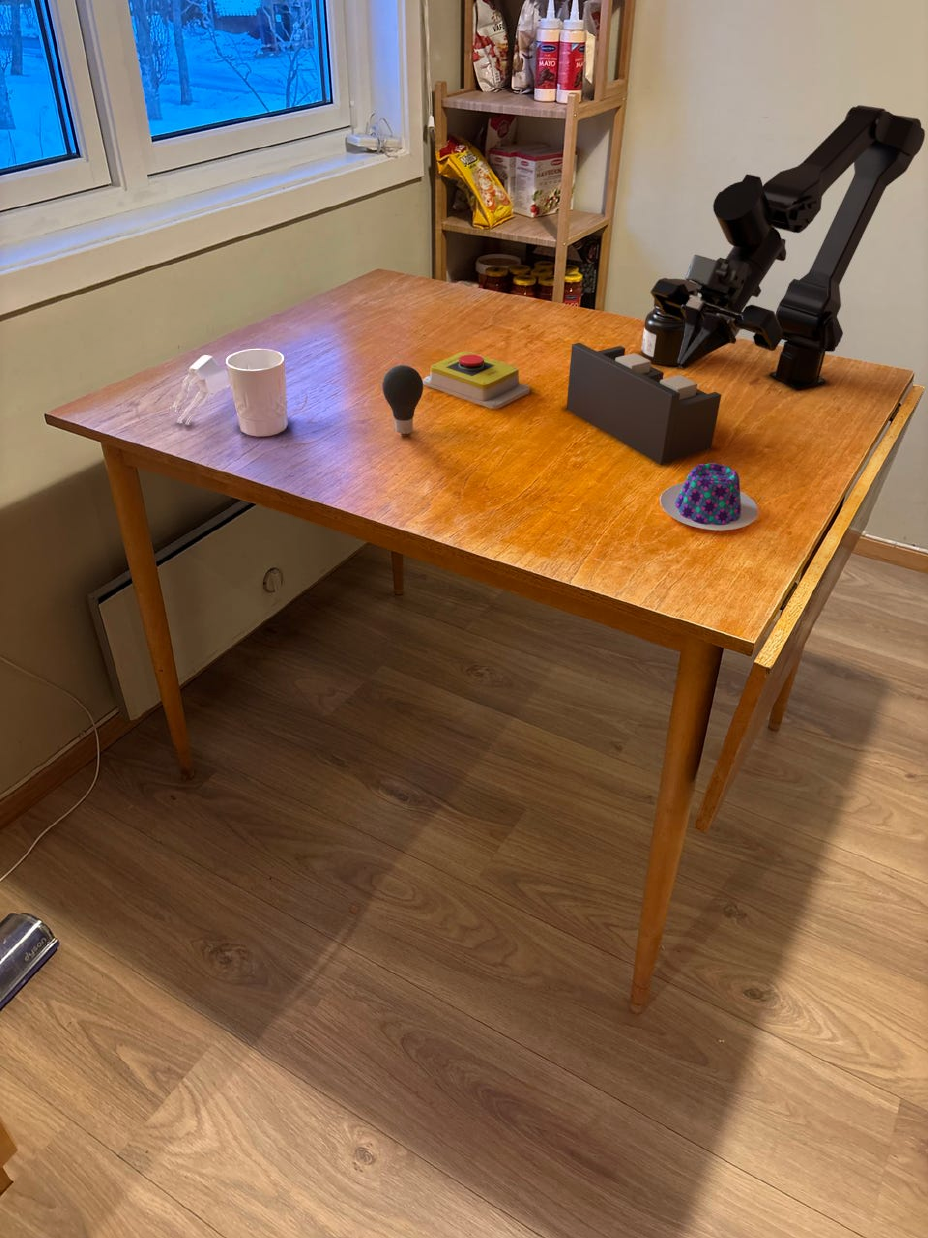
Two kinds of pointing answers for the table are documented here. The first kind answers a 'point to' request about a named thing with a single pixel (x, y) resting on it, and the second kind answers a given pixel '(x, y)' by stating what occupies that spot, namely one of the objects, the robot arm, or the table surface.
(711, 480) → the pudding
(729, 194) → the robot arm
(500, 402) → the emergency button
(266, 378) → the white cup
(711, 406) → the black hollow block
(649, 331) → the ink bottle
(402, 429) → the light bulb
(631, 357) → the key
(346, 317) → the table surface
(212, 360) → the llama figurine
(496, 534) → the table surface
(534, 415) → the table surface
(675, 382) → the key
